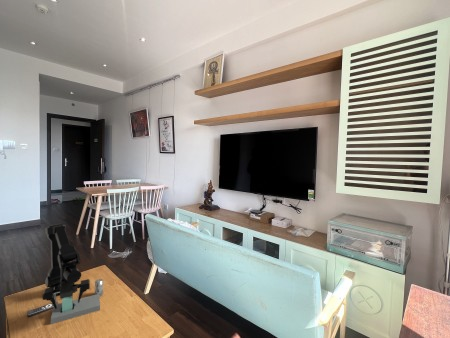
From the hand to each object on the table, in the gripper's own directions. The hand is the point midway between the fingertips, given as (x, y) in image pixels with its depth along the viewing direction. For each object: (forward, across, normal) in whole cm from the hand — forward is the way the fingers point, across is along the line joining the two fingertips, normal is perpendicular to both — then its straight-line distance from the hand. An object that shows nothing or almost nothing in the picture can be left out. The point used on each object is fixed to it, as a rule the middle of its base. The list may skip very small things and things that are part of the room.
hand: (67, 305), depth 109 cm
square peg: (+4, 0, 0) cm, 4 cm away
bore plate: (+4, +4, 0) cm, 6 cm away
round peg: (+4, +14, +9) cm, 17 cm away
